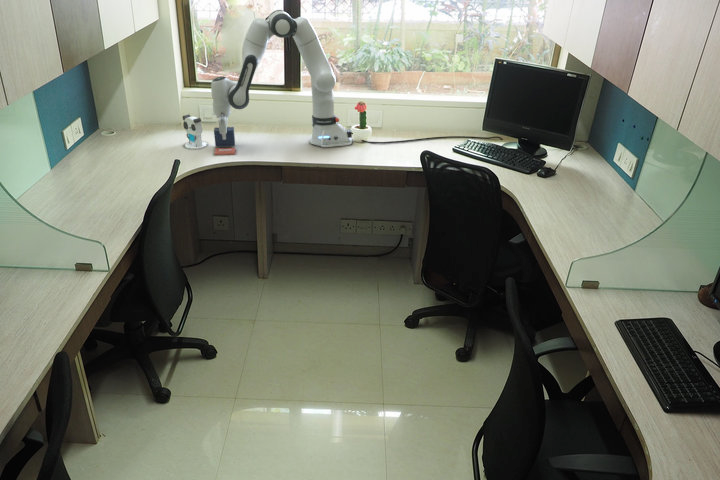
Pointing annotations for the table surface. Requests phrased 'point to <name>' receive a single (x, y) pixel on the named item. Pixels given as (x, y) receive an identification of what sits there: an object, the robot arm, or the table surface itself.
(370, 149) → the table surface
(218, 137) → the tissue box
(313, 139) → the robot arm
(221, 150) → the tissue packet
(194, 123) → the panda figurine
